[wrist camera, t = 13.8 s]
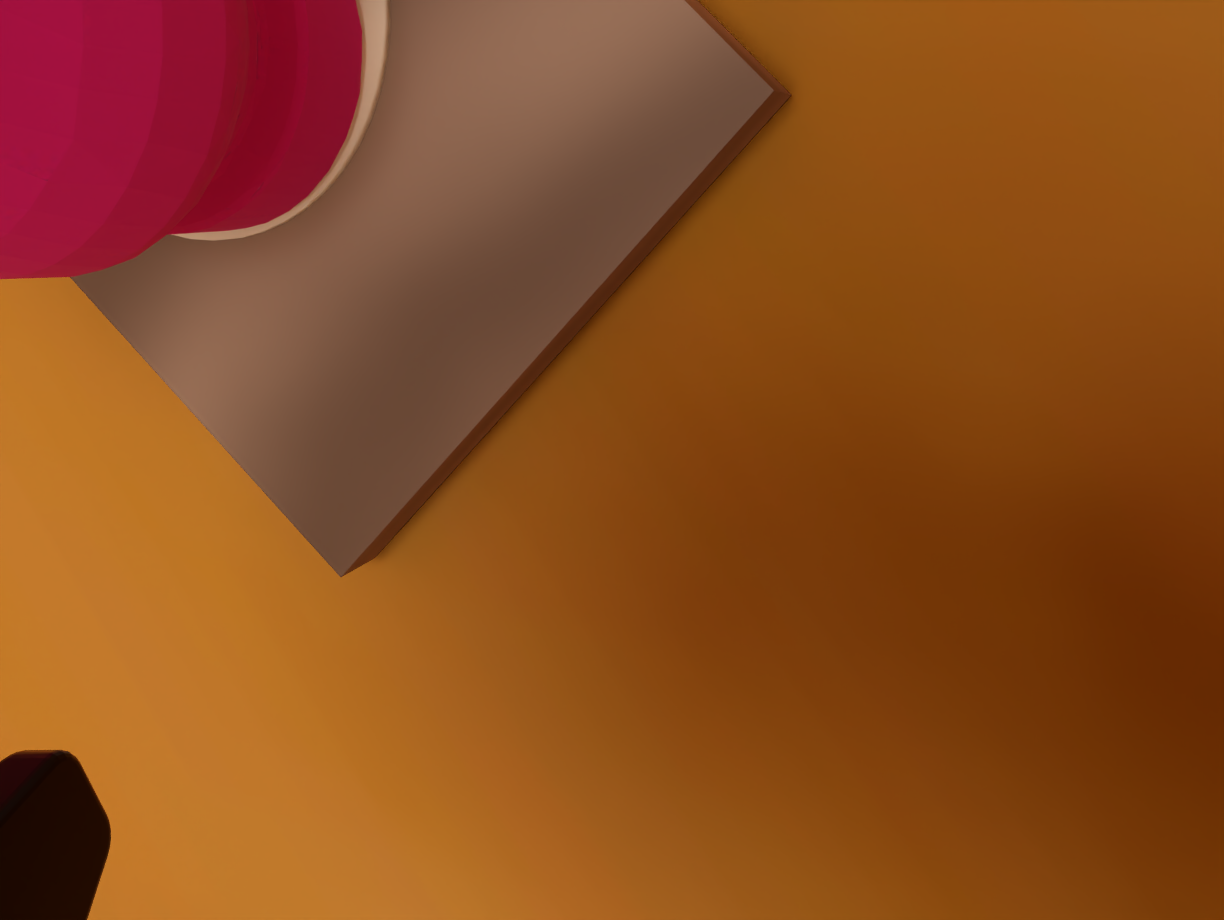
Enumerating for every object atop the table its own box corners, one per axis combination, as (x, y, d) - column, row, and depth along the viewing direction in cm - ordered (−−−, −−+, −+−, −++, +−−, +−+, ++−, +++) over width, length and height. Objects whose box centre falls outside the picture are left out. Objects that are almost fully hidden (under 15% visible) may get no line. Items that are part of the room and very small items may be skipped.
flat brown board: (791, 95, 18) (729, 78, 15) (374, 557, 23) (257, 624, 20) (212, -488, 19) (30, -628, 16) (-63, 75, 24) (-245, 61, 21)
